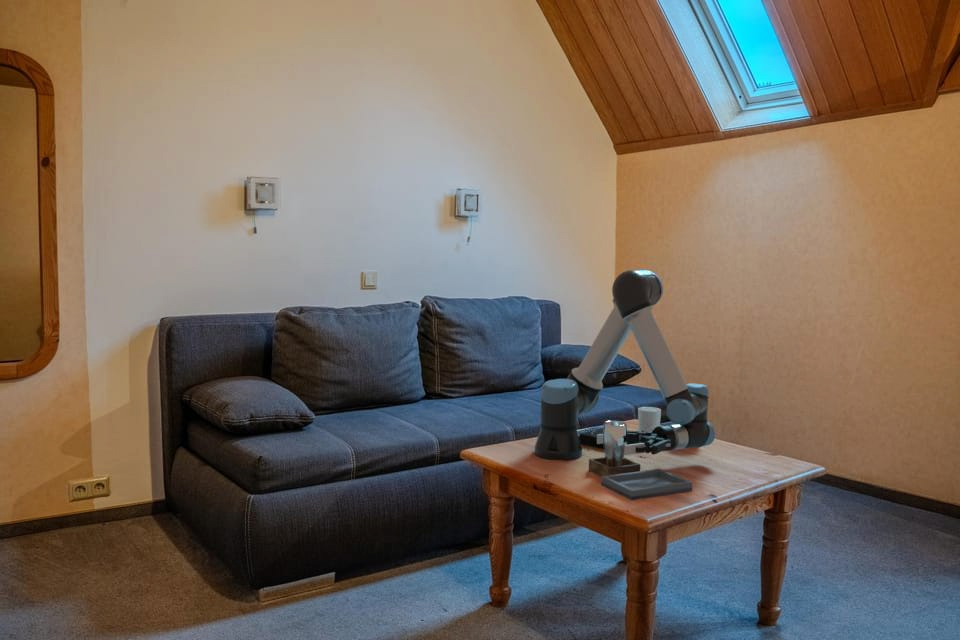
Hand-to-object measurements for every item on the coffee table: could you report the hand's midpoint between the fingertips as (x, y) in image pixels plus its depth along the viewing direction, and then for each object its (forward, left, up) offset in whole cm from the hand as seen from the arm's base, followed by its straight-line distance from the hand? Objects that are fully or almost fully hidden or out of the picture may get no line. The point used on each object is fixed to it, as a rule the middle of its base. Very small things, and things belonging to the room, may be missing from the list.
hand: (610, 444), depth 216 cm
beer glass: (0, +2, -9) cm, 9 cm away
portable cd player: (-29, +22, -10) cm, 38 cm away
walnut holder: (0, +2, -9) cm, 9 cm away
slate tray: (+15, +2, -9) cm, 17 cm away
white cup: (-33, +40, -9) cm, 53 cm away
